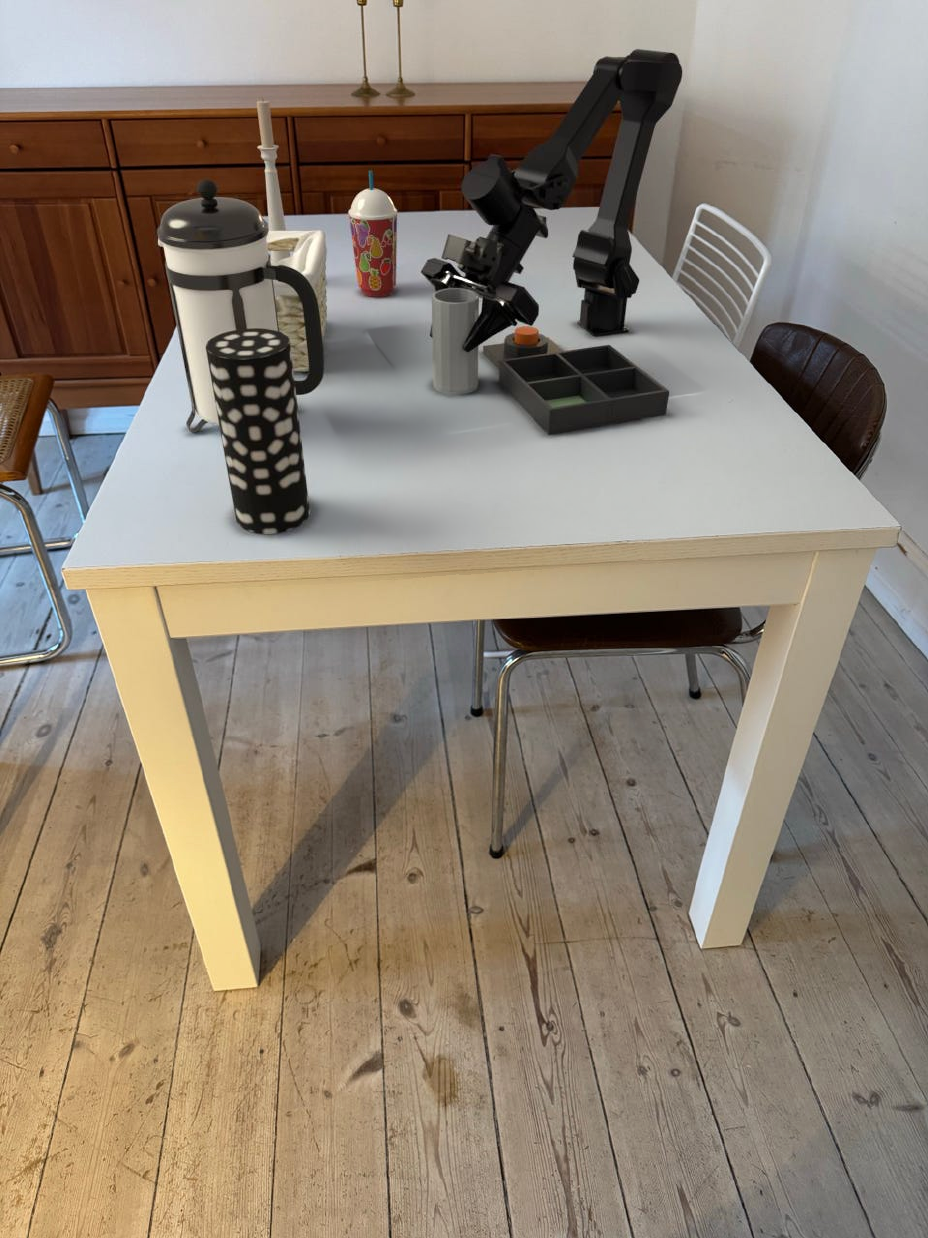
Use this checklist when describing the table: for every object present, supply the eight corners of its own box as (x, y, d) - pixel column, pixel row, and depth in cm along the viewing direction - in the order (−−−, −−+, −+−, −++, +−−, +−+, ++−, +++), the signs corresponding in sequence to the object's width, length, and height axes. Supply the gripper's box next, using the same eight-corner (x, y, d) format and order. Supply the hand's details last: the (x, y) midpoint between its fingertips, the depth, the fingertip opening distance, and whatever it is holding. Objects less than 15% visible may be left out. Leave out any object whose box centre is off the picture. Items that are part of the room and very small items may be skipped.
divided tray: (607, 367, 138) (609, 344, 135) (666, 414, 125) (669, 390, 122) (498, 383, 133) (499, 359, 131) (548, 434, 120) (549, 409, 118)
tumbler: (468, 374, 135) (469, 285, 127) (484, 391, 131) (485, 300, 123) (427, 380, 134) (425, 290, 126) (442, 397, 129) (440, 305, 121)
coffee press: (199, 458, 114) (149, 202, 96) (177, 407, 126) (129, 170, 108) (332, 433, 120) (309, 187, 101) (299, 387, 131) (274, 158, 113)
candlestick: (241, 278, 170) (215, 94, 152) (308, 269, 174) (290, 90, 156) (257, 299, 161) (231, 106, 143) (327, 290, 165) (311, 101, 147)
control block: (547, 344, 145) (548, 326, 143) (569, 363, 139) (570, 344, 137) (482, 353, 142) (483, 334, 140) (501, 373, 136) (502, 353, 134)
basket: (239, 320, 153) (225, 227, 144) (336, 319, 153) (328, 227, 144) (211, 378, 134) (192, 276, 125) (322, 377, 134) (311, 275, 125)
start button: (532, 335, 140) (533, 324, 139) (541, 344, 138) (542, 332, 137) (510, 338, 139) (511, 327, 138) (519, 347, 137) (520, 335, 136)
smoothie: (407, 287, 166) (403, 167, 154) (390, 301, 160) (383, 178, 148) (365, 282, 169) (358, 163, 156) (346, 296, 162) (337, 174, 150)
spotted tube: (240, 497, 107) (211, 329, 95) (311, 494, 107) (292, 327, 95) (231, 535, 100) (200, 360, 88) (308, 532, 101) (286, 357, 89)
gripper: (429, 196, 125) (371, 296, 126) (528, 223, 115) (465, 331, 115) (470, 244, 134) (416, 337, 135) (565, 273, 124) (506, 374, 124)
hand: (448, 343), depth 127 cm, fingers closed on tumbler, 6 cm apart
